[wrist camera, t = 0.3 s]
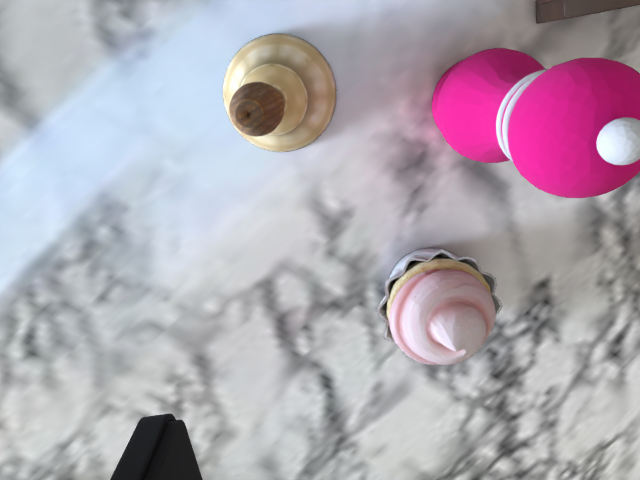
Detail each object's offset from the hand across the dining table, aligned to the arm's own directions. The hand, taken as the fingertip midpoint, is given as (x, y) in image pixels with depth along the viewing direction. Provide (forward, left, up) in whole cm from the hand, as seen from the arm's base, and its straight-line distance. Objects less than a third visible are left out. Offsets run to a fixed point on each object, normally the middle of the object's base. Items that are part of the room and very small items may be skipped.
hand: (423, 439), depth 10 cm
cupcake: (+12, +5, -30) cm, 33 cm away
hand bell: (-5, -4, -30) cm, 31 cm away
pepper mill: (-2, +10, -30) cm, 32 cm away
